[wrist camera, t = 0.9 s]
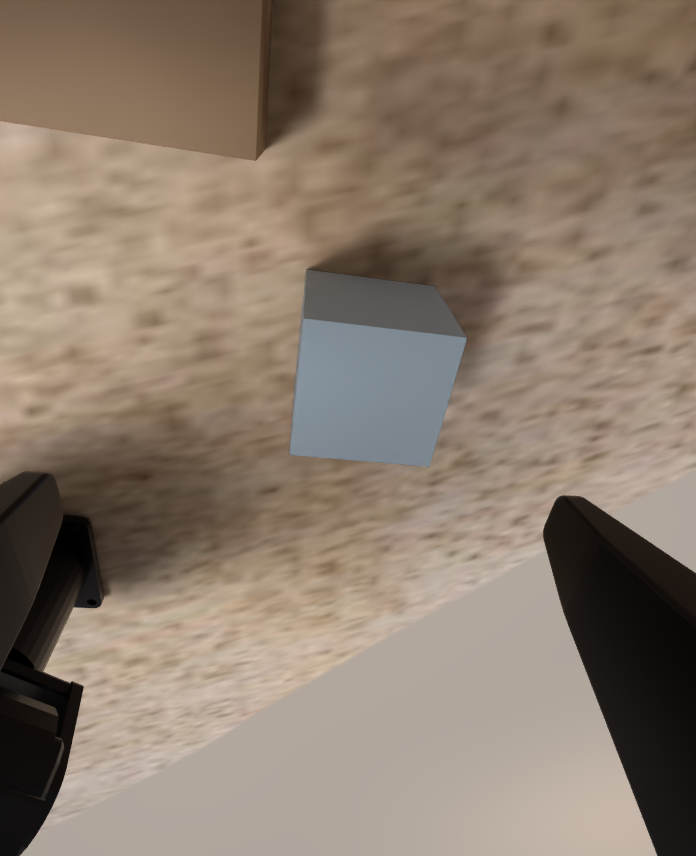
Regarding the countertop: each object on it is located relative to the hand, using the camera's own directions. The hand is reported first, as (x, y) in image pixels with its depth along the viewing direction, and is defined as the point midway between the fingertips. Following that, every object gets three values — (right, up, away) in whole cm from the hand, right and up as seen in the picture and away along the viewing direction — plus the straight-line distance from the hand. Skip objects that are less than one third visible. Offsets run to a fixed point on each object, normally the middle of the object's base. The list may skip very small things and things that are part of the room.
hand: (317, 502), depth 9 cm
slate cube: (+1, +5, +12) cm, 13 cm away
